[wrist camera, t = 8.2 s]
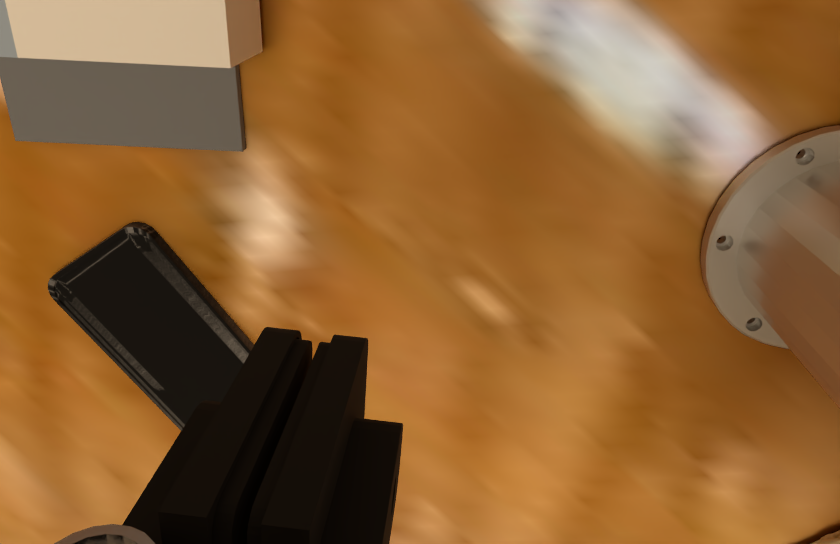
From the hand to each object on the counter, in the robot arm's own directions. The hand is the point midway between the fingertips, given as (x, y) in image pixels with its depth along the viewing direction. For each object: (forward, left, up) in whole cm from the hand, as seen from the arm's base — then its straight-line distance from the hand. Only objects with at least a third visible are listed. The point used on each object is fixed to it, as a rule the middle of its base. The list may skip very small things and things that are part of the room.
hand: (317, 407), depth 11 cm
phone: (+14, +15, -25) cm, 32 cm away
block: (+7, -5, -21) cm, 23 cm away
